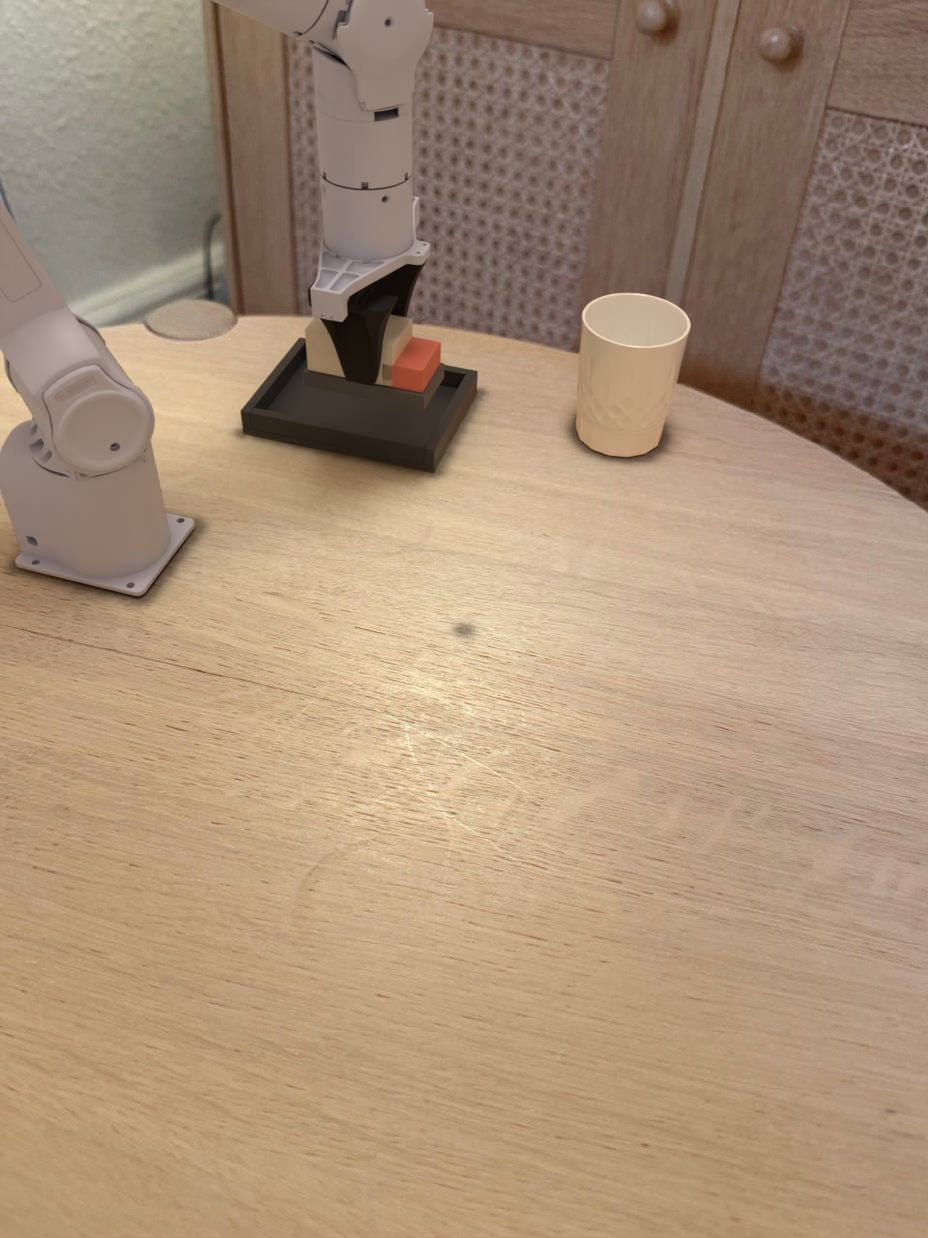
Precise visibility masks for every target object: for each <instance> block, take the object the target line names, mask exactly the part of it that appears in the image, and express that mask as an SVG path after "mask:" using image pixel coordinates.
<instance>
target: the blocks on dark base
mask: <svg viewBox="0 0 928 1238" xmlns="http://www.w3.org/2000/svg"><path fill="white" fill-rule="evenodd" d="M304 336H305V337H304V338H305V339H306V351H307V363H308V365H307V367H306V368H305V369H304V370H303V382H304V386H306V387H311V388H316V389H321V390H326V391H331V392H336V393H341V394H345V395H350V396H355V397H360V398H365V399H370V400H375V401H380V402H384V403H389V404H394V405H399V406H404V407H409V408H414V409H419V410H424V409H425V408H426V406H427V405H428V403H429V401H430V400H431V398H432V396H433V395H434V393H435V391H436V390H437V388H438V387H439V385H440V383H441V382H442V380H443V378H444V365H445V363H444V362H441V357H442V356H441V355H442V354H441V353H442V342H441V341H437V340H434V339H433V340H432V339H426V338H422V337H418V336H417V337H416V336H413V318H412V317H401V316H396V315H390V317H389V319H388V322H387V326H386V329H385V334H384V338H383V345H382V356H381V363H380V369H379V374H378V377H377V380H376V382H375V384H374V385H373V386H369V385H364V384H359V383H354V382H349V381H347V380H346V378H345V375H344V373H343V370H342V367H341V364H340V361H339V358H338V355H337V352H336V349H335V347H334V344H333V342H332V339H331V337H330V335H329V333H328V331H327V329H326V327H325V326H324V324H323V322H322V321H321V319H320V318H318V317H313V319H312V320H311V321H310V323H309V324H308V325H306V327H305V329H304Z"/></svg>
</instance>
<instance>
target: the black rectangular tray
mask: <svg viewBox="0 0 928 1238" xmlns="http://www.w3.org/2000/svg"><path fill="white" fill-rule="evenodd" d="M307 365H308V363H307V351H306V339H305V337H299V338H298V339H297V340H296V341H295V342H294V344H293V345H292V346H291V347H290V349H289V350H288V351H287V353H285V355H284V356H283V357H282V359H281V360H279V362H278V364H277V365H276V366H275V367H274V369H273V370H272V371H271V372H270V373H269V375H268V376H267V377H266V378H265V380H264V381H263V382H262V383H261V384H260V385H259V387H258V388H257V390H256V391H255V392H254V393H253V394H252V396H251V397H250V398H249V399H248V400H247V402H246V403H245V404H244V406H243V407H242V408H241V410H240V418H241V425H242V434H245V435H250V436H255V437H259V438H263V439H269V440H273V441H278V442H284V443H288V444H292V445H298V446H303V447H308V448H311V449H317V450H322V451H326V452H332V453H336V454H341V455H345V456H350V457H354V458H355V457H356V458H359V459H360V458H361V459H365V460H369V461H375V462H380V463H384V464H389V465H392V466H399V467H403V468H407V469H413V470H417V471H423V472H427V473H432V474H434V473H435V471H436V469H437V468H438V466H439V465H440V462H441V460H442V458H443V457H444V455H445V453H446V451H447V449H448V447H449V445H450V443H451V442H452V440H453V438H454V436H455V434H456V432H457V431H458V428H459V427H460V425H461V423H462V421H463V419H464V418H465V416H466V413H467V412H468V410H469V408H470V407H471V405H472V402H473V400H474V398H475V397H476V395H477V393H478V374H479V372H478V370H475V369H471V368H470V369H469V368H464V367H458V366H455V365H448V364H444V378H443V380H442V382H441V383H440V385H439V387H438V388H437V390H436V391H435V393H434V395H433V396H432V398H431V400H430V401H429V403H428V405H427V406H426V408H425V409H424V410H419V409H414V408H409V407H404V406H399V405H394V404H389V403H384V402H380V401H375V400H370V399H365V398H360V397H355V396H350V395H345V394H341V393H336V392H331V391H326V390H321V389H316V388H311V387H306V386H304V382H303V370H304V369H305V368H306V367H307Z"/></svg>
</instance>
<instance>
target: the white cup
mask: <svg viewBox="0 0 928 1238" xmlns="http://www.w3.org/2000/svg"><path fill="white" fill-rule="evenodd" d="M691 325H692V324H691V320H690V317H689V316H688V314H687V313H686V312H685V311H684V310H683V309H682V308H680V307H679V306H678V305H676V304H675V303H674V302H671V301H669V300H667V299H664V298H661V297H658V296H654V295H651V294H645V293H639V292H617V293H616V292H615V293H611V294H606V295H603V296H599V297H598V298H595V299H593V300H591V301H590V302H588V303H587V304H586V305H585V307H584V308H583V310H582V313H581V324H580V340H579V354H578V365H577V367H578V368H577V389H576V391H577V392H576V402H577V407H576V417H575V429H576V432H577V435H578V438H579V440H580V441H581V442H583V443H584V444H585V445H586V446H587V447H588V448H589V449H590V450H593V451H596V452H598V453H601V454H603V455H606V456H609V457H621V458H622V457H623V458H630V457H637V456H641V455H645V454H647V453H649V452H650V451H652V450H653V449H655V448H656V447H658V445H659V442H660V441H661V438H662V435H663V431H664V427H665V423H666V419H667V415H669V412H670V409H671V405H672V401H673V398H674V394H675V391H676V387H677V383H678V379H679V375H680V371H681V368H682V363H683V359H684V355H685V351H686V347H687V344H688V338H689V334H690V331H691Z"/></svg>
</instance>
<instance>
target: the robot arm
mask: <svg viewBox="0 0 928 1238" xmlns="http://www.w3.org/2000/svg"><path fill="white" fill-rule="evenodd" d="M211 1H212V2H214V3H216V4H218V5H220V6H223V7H225V8H227V9H229V10H231V11H233V12H235V13H238V14H240V15H242V16H245V17H246V18H249V19H251V20H253V21H255V22H258V23H260V24H263V25H264V26H266V27H269V28H271V29H273V30H276V31H278V32H280V33H283V34H284V35H287V36H289V37H290V38H293V39H295V40H299V41H306V42H308V44H311V45H313V46H312V48H311V53H312V64H313V65H312V66H313V81H314V82H313V83H314V102H315V103H314V104H315V119H316V135H317V149H318V164H319V165H318V166H319V183H320V185H319V186H320V195H321V196H320V198H321V213H322V214H321V215H322V229H323V233H322V235H321V239H320V244H319V245H320V246H319V255H318V265H317V274H316V279H315V280H314V281H313V282H312V283H311V284H310V286H309V287H308V288H307V300H308V305H309V307H310V309H311V316H312V318H315V317H318V318H320V319H321V321H322V322H323V324H324V326H325V327H326V329H327V331H328V333H329V335H330V337H331V339H332V342H333V344H334V347H335V349H336V352H337V355H338V358H339V361H340V364H341V367H342V370H343V373H344V375H345V378H346V380H347V381H349V382H354V383H359V384H364V385H369V386H373V385H374V384H375V382H376V380H377V377H378V374H379V369H380V363H381V356H382V345H383V338H384V334H385V329H386V326H387V322H388V319H389V317H390V315H396V316H401V317H406V318H408V312H409V307H410V304H411V299H412V297H413V293H414V290H415V287H416V285H417V282H418V279H419V277H420V275H421V272H422V271H423V268H424V267H425V265H426V263H427V261H428V259H429V257H430V256H431V244H430V243H429V242H427V241H423V240H418V239H417V234H416V232H417V228H418V227H419V225H420V197H419V196H415V195H413V194H414V193H413V191H414V190H413V189H414V187H413V186H414V184H413V183H414V182H413V181H414V180H413V179H414V176H413V173H414V172H413V170H414V168H413V167H414V166H413V163H414V158H413V157H414V155H413V154H414V152H413V151H414V149H413V143H414V142H413V141H414V140H413V139H414V136H413V134H414V133H413V124H414V123H413V122H414V121H413V117H414V116H413V115H414V114H413V113H414V112H413V110H414V109H413V93H415V92H416V91H415V89H416V87H415V81H416V80H415V79H416V78H415V77H416V69H417V66H418V63H419V61H420V59H421V58H422V56H423V54H424V52H425V51H426V49H427V47H428V45H429V42H430V39H431V36H432V33H433V28H434V19H435V13H433V11H430V10H429V9H428V8H427V5H426V0H211ZM315 44H317V45H318V46H317V45H315ZM319 46H320V47H321V48H319ZM322 48H323V49H322ZM0 351H1V352H2V356H3V366H4V372H5V375H6V378H7V379H8V381H9V383H10V385H11V386H12V387H13V389H14V390H15V392H16V393H17V394H19V395H20V397H21V399H22V401H23V403H24V404H25V406H26V408H27V409H28V411H29V412H30V414H31V419H28V420H24V421H22V422H20V423H18V424H17V425H16V426H15V427H14V428H13V429H12V430H10V432H9V434H8V435H7V437H6V438H5V440H4V442H3V444H2V445H1V448H0V494H1V497H2V499H3V502H4V506H5V509H6V511H7V514H8V517H9V520H10V523H11V526H12V529H13V531H14V534H15V537H16V541H17V543H18V546H19V549H20V553H19V554H18V555H17V556H16V558H15V559H14V563H15V565H16V567H17V568H18V569H24V570H27V571H31V572H35V573H40V574H44V575H47V576H52V577H57V578H59V579H65V580H69V581H73V582H77V583H81V584H85V585H88V586H93V587H98V588H100V589H105V590H110V591H113V592H117V593H121V594H126V595H129V596H134V597H141V596H142V595H144V594H146V592H147V591H148V590H149V588H150V587H151V585H152V584H153V583H154V581H155V580H156V579H157V577H158V576H159V575H160V574H161V572H162V571H163V570H164V568H165V567H166V566H167V564H169V562H170V560H171V559H172V558H173V556H174V555H175V554H176V552H177V551H178V549H179V548H180V547H181V546H182V544H183V543H184V542H185V540H186V539H187V538H188V537H189V535H190V534H191V533H192V531H193V530H194V529H195V527H196V523H195V519H194V518H192V517H188V516H184V515H178V514H174V513H170V512H166V511H167V510H166V506H165V502H164V497H163V491H162V487H161V481H160V477H159V472H158V468H157V463H156V458H155V454H154V448H153V444H152V438H153V435H154V431H155V427H156V424H155V423H156V417H155V411H154V408H153V405H152V403H151V401H150V399H149V397H148V396H147V395H146V394H145V392H144V391H143V390H142V389H141V388H140V386H137V385H135V383H134V381H133V380H132V379H131V378H130V376H129V375H128V373H127V372H126V371H125V369H124V368H123V367H122V365H121V364H120V363H119V361H118V360H117V359H116V357H115V355H113V353H112V352H111V351H110V349H109V348H108V346H107V344H106V340H105V339H104V337H103V336H102V334H101V333H100V331H99V329H97V327H96V326H95V325H94V324H92V323H91V322H90V321H88V320H87V319H85V318H83V317H82V316H80V315H79V314H76V313H74V312H73V311H72V310H71V308H70V307H69V305H68V303H67V302H66V300H65V299H64V297H63V296H62V294H61V293H60V291H59V290H58V287H57V286H56V284H55V283H54V282H53V280H52V278H51V276H50V275H49V273H48V272H47V271H46V269H45V266H43V264H42V263H41V261H40V259H39V258H38V256H37V255H36V253H35V252H34V250H33V248H32V247H31V245H30V243H29V241H27V239H26V238H25V236H24V234H23V232H22V231H21V230H20V228H19V226H18V225H17V223H16V221H15V220H14V219H13V217H12V216H11V214H10V212H9V211H8V209H7V207H6V205H5V204H4V202H3V201H2V199H1V198H0Z"/></svg>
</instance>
